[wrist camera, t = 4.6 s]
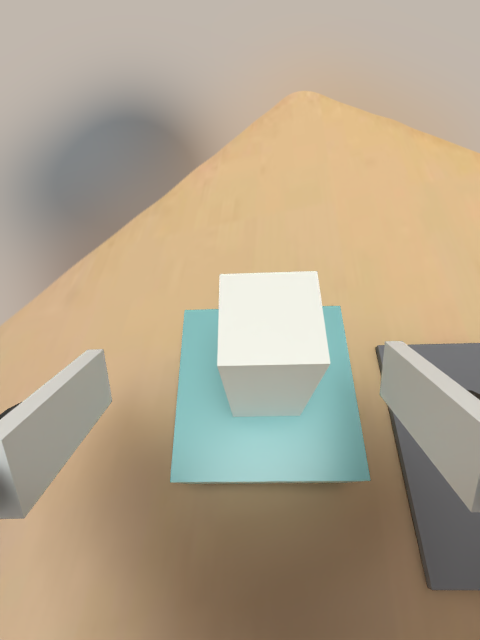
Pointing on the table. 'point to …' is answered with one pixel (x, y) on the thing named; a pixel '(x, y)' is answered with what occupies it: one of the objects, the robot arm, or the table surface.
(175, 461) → the cover
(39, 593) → the table surface
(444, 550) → the mat
